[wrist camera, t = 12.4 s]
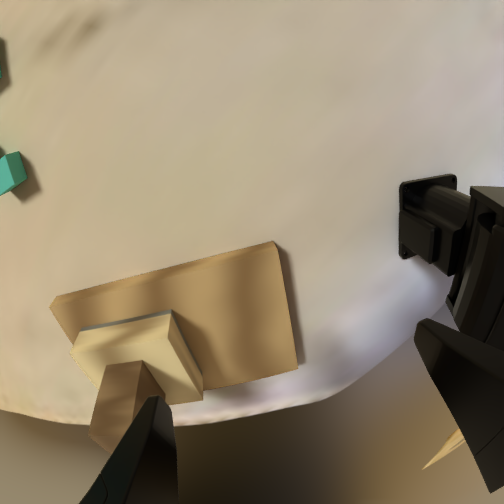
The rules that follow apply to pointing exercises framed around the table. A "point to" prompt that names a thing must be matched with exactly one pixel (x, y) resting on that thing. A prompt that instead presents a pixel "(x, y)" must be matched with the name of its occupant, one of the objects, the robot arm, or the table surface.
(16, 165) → the alien figure
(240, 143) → the table surface
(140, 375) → the block
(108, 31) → the table surface
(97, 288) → the oak board
